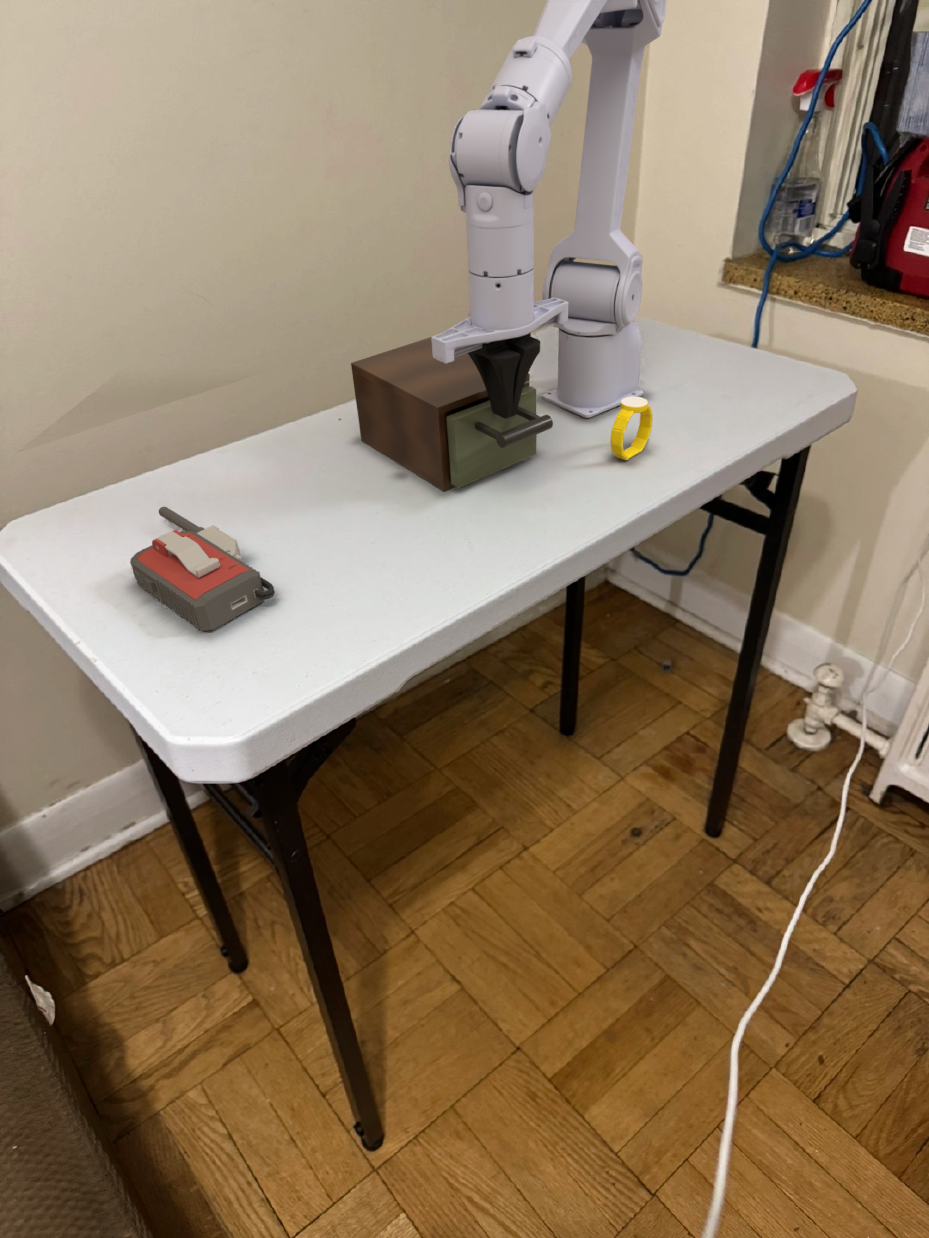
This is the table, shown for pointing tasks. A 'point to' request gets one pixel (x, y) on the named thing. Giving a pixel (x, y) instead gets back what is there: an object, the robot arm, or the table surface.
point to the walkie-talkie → (199, 574)
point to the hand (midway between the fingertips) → (504, 413)
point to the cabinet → (414, 405)
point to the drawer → (491, 437)
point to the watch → (620, 424)
